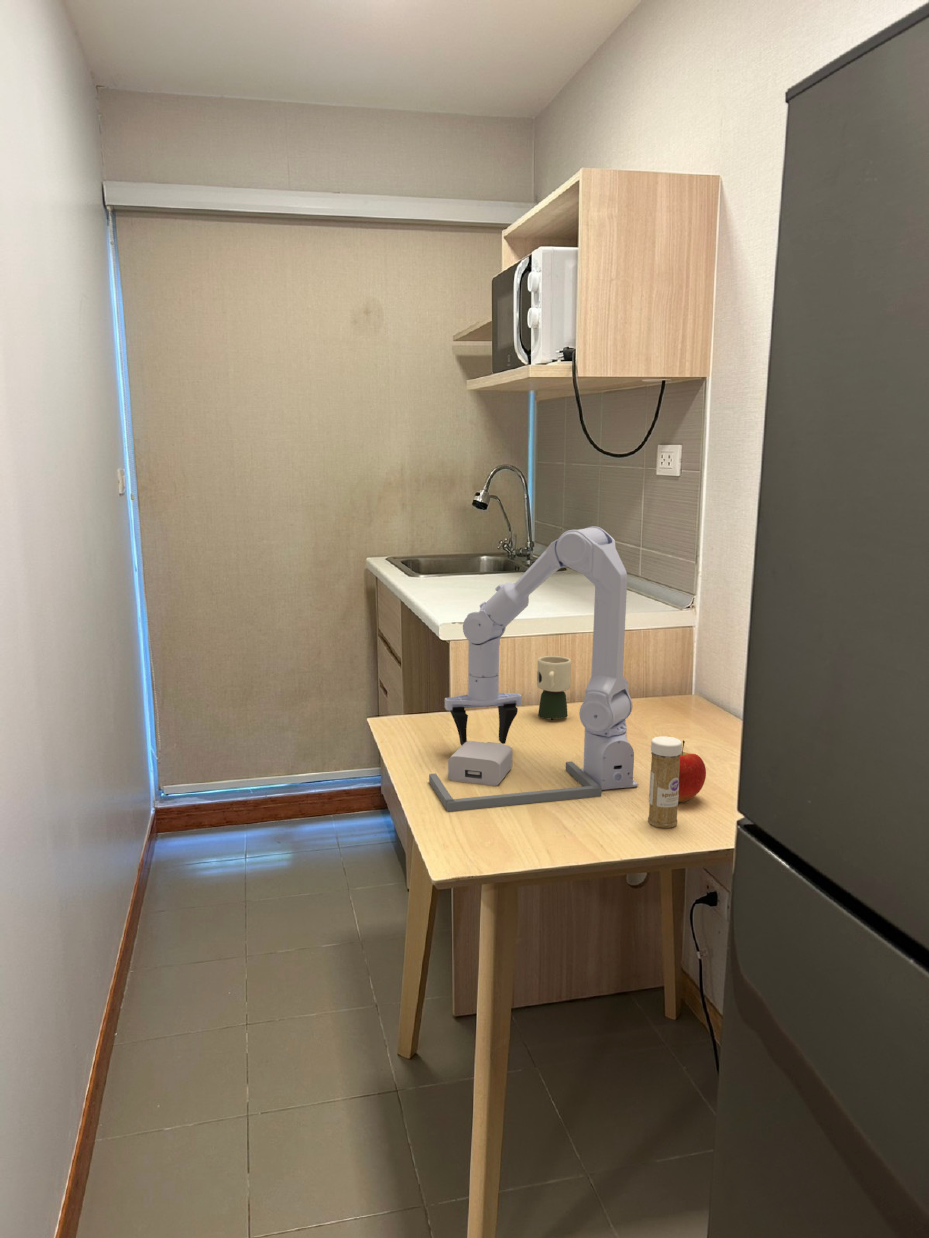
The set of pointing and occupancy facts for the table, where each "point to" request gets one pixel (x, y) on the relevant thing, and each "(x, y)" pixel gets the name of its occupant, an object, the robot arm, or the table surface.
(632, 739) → the table surface
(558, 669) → the character mug
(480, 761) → the charger
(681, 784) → the apple
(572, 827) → the table surface
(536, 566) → the robot arm
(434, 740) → the table surface
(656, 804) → the sprinkles bottle
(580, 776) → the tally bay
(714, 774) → the table surface
